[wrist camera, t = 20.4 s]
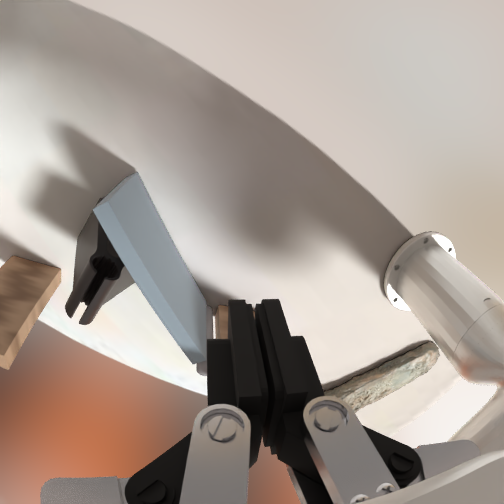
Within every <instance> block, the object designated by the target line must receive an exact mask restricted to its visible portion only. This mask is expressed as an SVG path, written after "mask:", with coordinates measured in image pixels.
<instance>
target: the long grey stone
mask: <svg viewBox="0 0 504 504" xmlns="http://www.w3.org/2000/svg"><path fill="white" fill-rule="evenodd" d="M438 349H439V348H438V347H437V346H436V344H434V343H431V342H427V343H424V344H423V345H422V346H419V347H418V348H416V349H414V350H411V351H409V352H407V353H406V354H404V355H402V356H399V357H397V358H395V359H393V360H390V361H387V362H385V363H383V365H382V366H379V367H377V368H375V369H372V370H371V371H367V372H365V373H364V374H362V375H360V376H355V377H353V378H352V379H351V380H350V381H348V382H347V383H345V384H342V385H341V386H339V387H337V388H334V389H333V390H330V391H325V392H324V395H325V396H332V397H336V398H339V399H342V400H343V401H345V402H346V403H348V405H349V406H350V407H351V408H352V410H353V411H354V413H356V412H357V411H358V410H359V409H361V408H363V407H365V406H366V405H368V404H372V403H373V402H376V401H378V400H380V399H381V398H384V397H385V396H387V395H389V394H390V393H392V392H394V391H396V390H398V389H400V388H401V387H402V386H405V385H406V384H408V383H410V382H411V381H413V380H414V379H416V378H417V377H419V376H421V375H423V374H424V373H427V372H428V370H430V369H431V368H432V366H433V365H434V364H435V363H436V362H437V359H438V357H439V356H440V354H439V351H438Z"/></svg>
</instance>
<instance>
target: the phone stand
mask: <svg viewBox="0 0 504 504" xmlns="http://www.w3.org/2000/svg"><path fill="white" fill-rule="evenodd" d="M102 200H103V199H102V198H100V199H99V201H98V203H97V205H98V204H99V203H100V202H101V201H102ZM97 205H96V206H97ZM96 206H95V207H96ZM133 283H135V281H134V279H133V278H132V276H131V274H130V273H129V271H128V270H127V268H126V266H125V265H124V263H123V262H122V260H121V258H120V257H119V255H118V253H117V252H116V250H115V248H114V247H113V245H112V243H111V241H110V240H109V238H108V236H107V235H106V233H105V231H104V229H103V228H102V226H101V224H100V222H99V220H98V219H97V217H96V215H95V213H94V211H92V213H91V215H90V217H89V219H88V220H87V222H86V224H85V226H84V228H83V230H82V231H81V233H80V235H79V237H78V239H77V248H76V257H75V268H74V281H73V291H72V293H71V295H70V297H69V299H68V301H67V303H66V305H65V309H66V313H67V315H68V316H69V317H70V318H72V317H73V315H74V313H75V311H76V309H77V307H78V305H79V303H80V302H85V305H87V308H86V310H85V312H84V314H83V315H82V317H81V319H80V321H79V324H82V325H87V324H90V323H91V322H92V321H93V319H94V318H95V316H96V314H97V313H98V311H99V309H100V308H101V306H102V305H103V304H105V303H106V302H108V301H109V300H110V299H112V298H113V297H115V296H116V295H118V294H119V293H120V292H122V291H123V290H125V289H126V288H128V287H129V286H130V285H132V284H133Z"/></svg>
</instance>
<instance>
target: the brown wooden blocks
mask: <svg viewBox="0 0 504 504" xmlns="http://www.w3.org/2000/svg"><path fill="white" fill-rule="evenodd" d="M60 283H61V269H59V268H56V267H52V266H48V265H45V264H41V263H38V262H34V261H31V260H27V259H24V258H20V257H17V256H13V255H12V256H11V257H10V258H9V259H8V260H7V261H6V263H5V264H4V265H3V266H2V267H1V268H0V366H1V367H3V368H6V369H8V370H9V368H10V366H11V364H12V362H13V360H14V358H15V357H16V355H17V353H18V351H19V349H20V348H21V346H22V344H23V342H24V340H25V339H26V337H27V335H28V334H29V332H30V330H31V328H32V327H33V325H34V324H35V322H36V320H37V319H38V317H39V315H40V314H41V312H42V311H43V309H44V307H45V306H46V304H47V303H48V301H49V300H50V298H51V296H52V295H53V293H54V292H55V290H56V289H57V287H58V286H59V284H60ZM253 314H254V318H255V311H253ZM215 328H216V339H228V306H223V305H219V306H218V309H217V312H216V316H215Z"/></svg>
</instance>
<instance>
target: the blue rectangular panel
mask: <svg viewBox="0 0 504 504" xmlns="http://www.w3.org/2000/svg"><path fill="white" fill-rule="evenodd" d="M93 211H94V213H95V215H96V217H97V219H98V220H99V222H100V224H101V226H102V228H103V229H104V231H105V233H106V235H107V236H108V238H109V240H110V241H111V243H112V245H113V247H114V248H115V250H116V252H117V253H118V255H119V257H120V258H121V260H122V262H123V263H124V265H125V266H126V268H127V270H128V271H129V273H130V274H131V276H132V278H133V279H134V281H135V282H136V284H137V285H138V287H139V289H140V290H141V292H142V293H143V295H144V296H145V298H146V299H147V301H148V302H149V304H150V305H151V307H152V308H153V310H154V311H155V313H156V314H157V315H158V317H159V318H160V320H161V321H162V323H163V324H164V326H165V327H166V328H167V330H168V331H169V333H170V334H171V335H172V337H173V338H174V340H175V341H176V342H177V344H178V345H179V346H180V348H181V349H182V351H183V352H184V353H185V355H186V356H187V357H188V359H189V360H190V361H191V362H192V364H196V363H197V372H198V373H199V374H200V375H203V376H207V339H213V310H212V308H211V307H210V306H207V305H206V300H205V298H204V296H203V295H202V293H201V291H200V289H199V288H198V286H197V284H196V282H195V281H194V279H193V277H192V275H191V273H190V272H189V270H188V268H187V266H186V264H185V263H184V261H183V259H182V257H181V255H180V253H179V252H178V250H177V248H176V246H175V244H174V242H173V240H172V239H171V237H170V235H169V233H168V231H167V229H166V227H165V225H164V223H163V221H162V219H161V218H160V216H159V214H158V212H157V210H156V208H155V206H154V204H153V202H152V200H151V198H150V196H149V194H148V192H147V190H146V188H145V186H144V184H143V182H142V180H141V178H140V176H139V174H138V172H136V173H134V174H132V175H130V176H128V177H126V178H125V179H124V180H123V181H121V182H120V183H119V184H118V185H117V186H116V187H115V188H114V189H113V190H112V191H111V192H110V193H109V194H108V195H107V196H106V197H105V198H104V199H103V200H102V201H101V202H100V203H99V204H98V205H97V206H96V207H95V208H94V209H93Z"/></svg>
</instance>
